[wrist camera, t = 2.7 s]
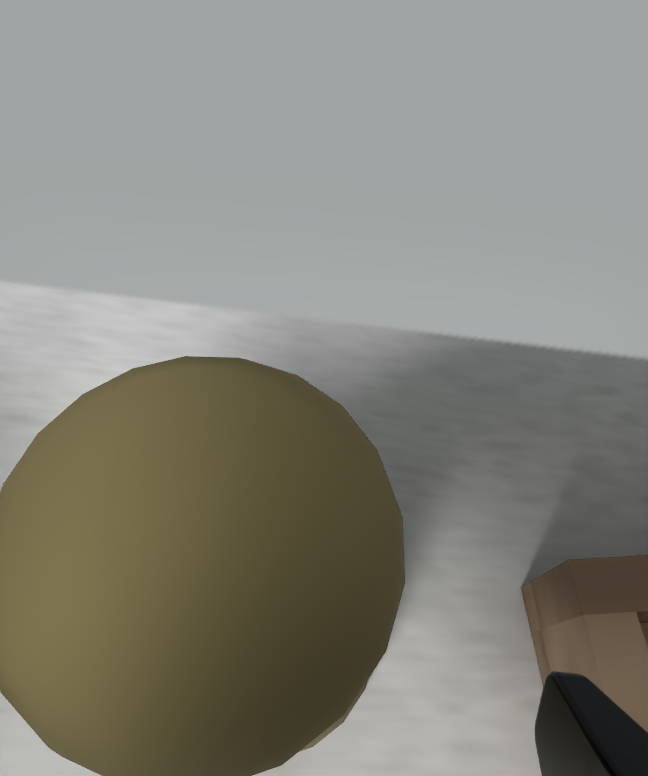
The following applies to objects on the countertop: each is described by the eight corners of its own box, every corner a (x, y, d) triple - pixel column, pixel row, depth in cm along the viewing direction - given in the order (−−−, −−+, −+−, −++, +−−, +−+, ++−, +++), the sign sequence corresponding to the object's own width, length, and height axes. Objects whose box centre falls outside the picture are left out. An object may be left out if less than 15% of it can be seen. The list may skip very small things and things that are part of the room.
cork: (320, 490, 17) (316, 228, 8) (416, 689, 15) (594, 662, 5) (132, 575, 16) (-150, 385, 6) (199, 810, 13) (-120, 1083, 4)
